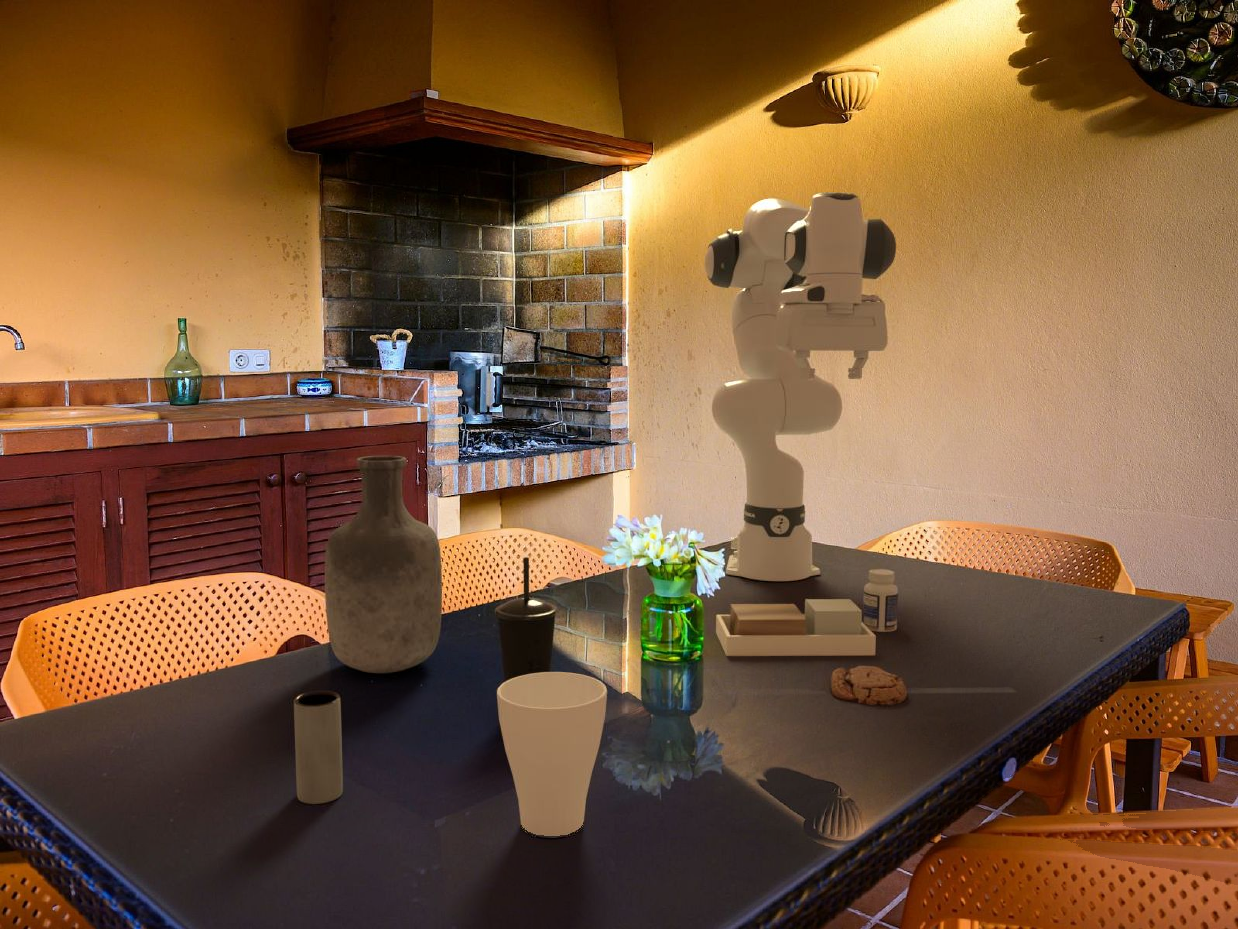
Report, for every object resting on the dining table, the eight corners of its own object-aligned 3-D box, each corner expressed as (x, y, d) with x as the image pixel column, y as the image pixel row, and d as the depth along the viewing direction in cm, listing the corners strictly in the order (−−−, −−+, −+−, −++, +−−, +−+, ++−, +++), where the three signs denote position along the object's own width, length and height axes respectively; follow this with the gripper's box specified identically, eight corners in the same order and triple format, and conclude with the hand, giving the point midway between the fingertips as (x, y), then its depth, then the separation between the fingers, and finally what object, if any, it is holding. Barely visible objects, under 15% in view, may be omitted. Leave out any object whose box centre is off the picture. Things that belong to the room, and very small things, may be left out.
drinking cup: (484, 714, 129) (482, 556, 126) (534, 700, 134) (533, 549, 131) (519, 732, 123) (518, 567, 120) (570, 717, 128) (570, 559, 125)
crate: (715, 636, 163) (716, 614, 162) (853, 635, 164) (854, 614, 163) (726, 659, 151) (726, 636, 151) (874, 659, 152) (875, 636, 151)
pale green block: (804, 636, 161) (805, 599, 160) (848, 636, 161) (849, 599, 160) (814, 650, 154) (815, 611, 153) (860, 650, 154) (861, 611, 153)
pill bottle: (893, 626, 169) (896, 568, 168) (899, 635, 164) (901, 575, 163) (860, 625, 170) (862, 567, 169) (864, 634, 164) (866, 575, 163)
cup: (609, 801, 105) (609, 672, 103) (603, 852, 94) (604, 710, 93) (506, 799, 105) (505, 670, 103) (489, 849, 95) (488, 708, 93)
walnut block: (729, 635, 161) (730, 604, 161) (793, 635, 162) (794, 603, 161) (738, 652, 152) (739, 619, 152) (805, 652, 153) (806, 619, 152)
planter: (302, 785, 108) (299, 690, 106) (346, 784, 108) (344, 690, 107) (292, 805, 103) (288, 706, 102) (338, 804, 104) (335, 705, 102)
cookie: (890, 713, 131) (891, 690, 130) (814, 695, 137) (815, 673, 137) (919, 692, 139) (920, 670, 138) (846, 676, 145) (847, 655, 144)
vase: (429, 646, 157) (426, 450, 153) (454, 678, 142) (452, 462, 138) (321, 658, 151) (314, 454, 147) (335, 693, 136) (329, 467, 132)
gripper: (872, 296, 174) (869, 378, 175) (770, 292, 165) (769, 379, 167) (897, 294, 168) (894, 379, 170) (793, 290, 159) (791, 380, 161)
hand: (831, 379), depth 168 cm, fingers open, 8 cm apart
